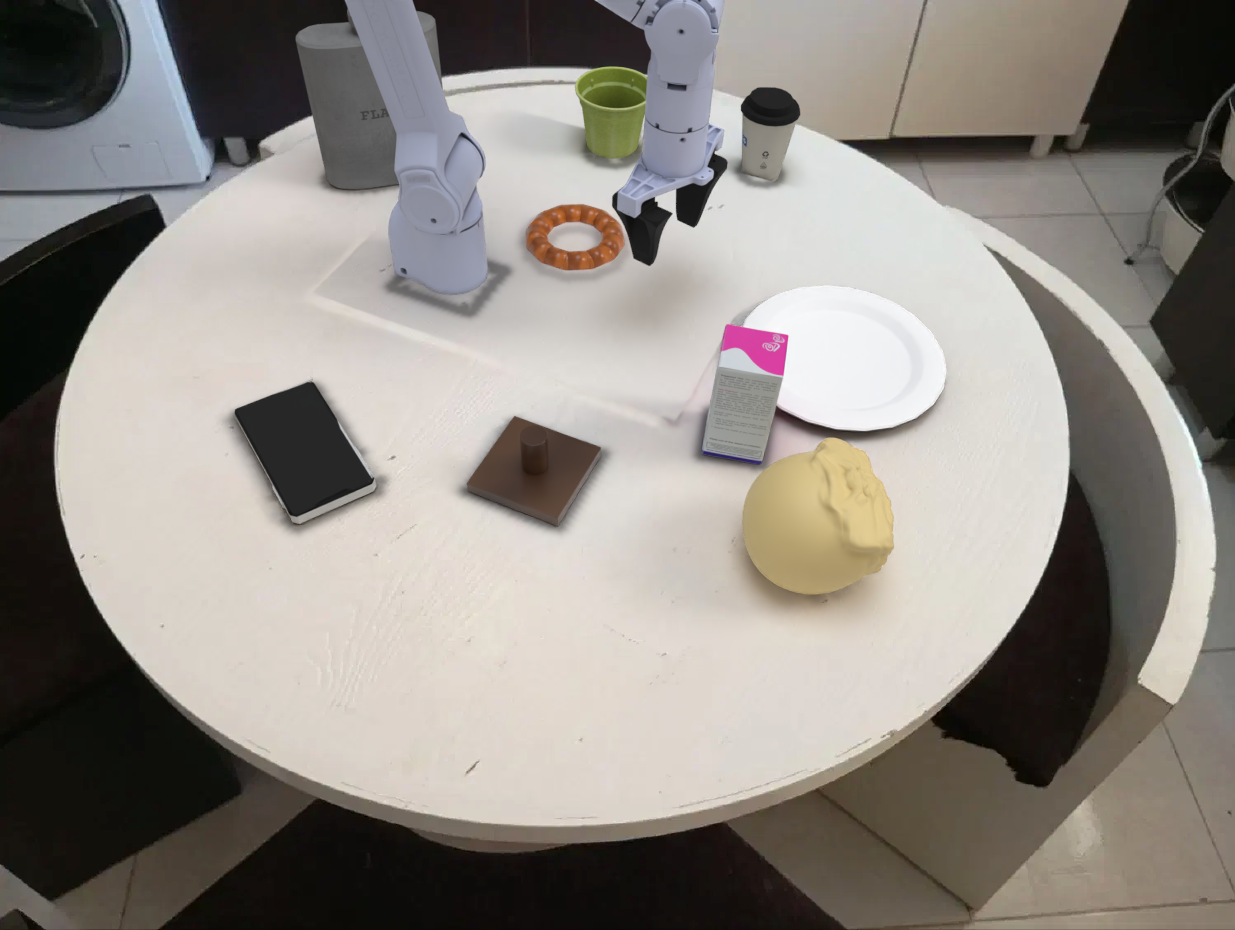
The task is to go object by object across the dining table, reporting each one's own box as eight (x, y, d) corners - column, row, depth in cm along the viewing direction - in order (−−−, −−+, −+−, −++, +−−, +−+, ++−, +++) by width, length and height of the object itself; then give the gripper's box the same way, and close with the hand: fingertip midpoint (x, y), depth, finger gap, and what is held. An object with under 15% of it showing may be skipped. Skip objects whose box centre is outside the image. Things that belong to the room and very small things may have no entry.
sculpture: (890, 608, 82) (926, 531, 74) (747, 616, 81) (767, 539, 73) (858, 499, 89) (887, 418, 81) (726, 504, 88) (742, 423, 80)
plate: (777, 273, 109) (779, 261, 108) (964, 334, 104) (969, 322, 102) (703, 394, 97) (705, 382, 96) (911, 471, 92) (916, 459, 90)
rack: (467, 491, 88) (462, 453, 84) (514, 423, 94) (512, 385, 90) (557, 526, 86) (557, 489, 82) (601, 455, 92) (602, 417, 88)
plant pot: (664, 147, 124) (669, 82, 118) (624, 183, 119) (627, 117, 112) (601, 123, 127) (603, 58, 121) (559, 157, 122) (559, 92, 115)
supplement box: (763, 466, 91) (783, 378, 82) (700, 455, 92) (713, 367, 83) (770, 420, 95) (789, 332, 86) (709, 410, 96) (722, 321, 87)
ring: (509, 260, 109) (508, 243, 107) (553, 208, 115) (553, 190, 114) (598, 289, 106) (598, 271, 105) (638, 233, 113) (639, 216, 111)
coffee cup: (798, 169, 122) (812, 94, 114) (772, 197, 118) (786, 121, 111) (747, 151, 124) (759, 76, 117) (721, 177, 120) (731, 101, 113)
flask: (333, 197, 115) (295, 30, 100) (323, 170, 119) (285, 4, 103) (457, 173, 119) (440, 8, 104) (444, 147, 123) (426, -16, 107)
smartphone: (313, 378, 95) (378, 481, 87) (315, 387, 96) (380, 489, 88) (230, 410, 92) (290, 519, 84) (234, 419, 93) (293, 528, 85)
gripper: (668, 169, 82) (657, 295, 92) (758, 97, 90) (739, 221, 100) (599, 139, 85) (596, 265, 95) (693, 71, 92) (681, 195, 103)
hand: (665, 241), depth 98 cm, fingers open, 7 cm apart
